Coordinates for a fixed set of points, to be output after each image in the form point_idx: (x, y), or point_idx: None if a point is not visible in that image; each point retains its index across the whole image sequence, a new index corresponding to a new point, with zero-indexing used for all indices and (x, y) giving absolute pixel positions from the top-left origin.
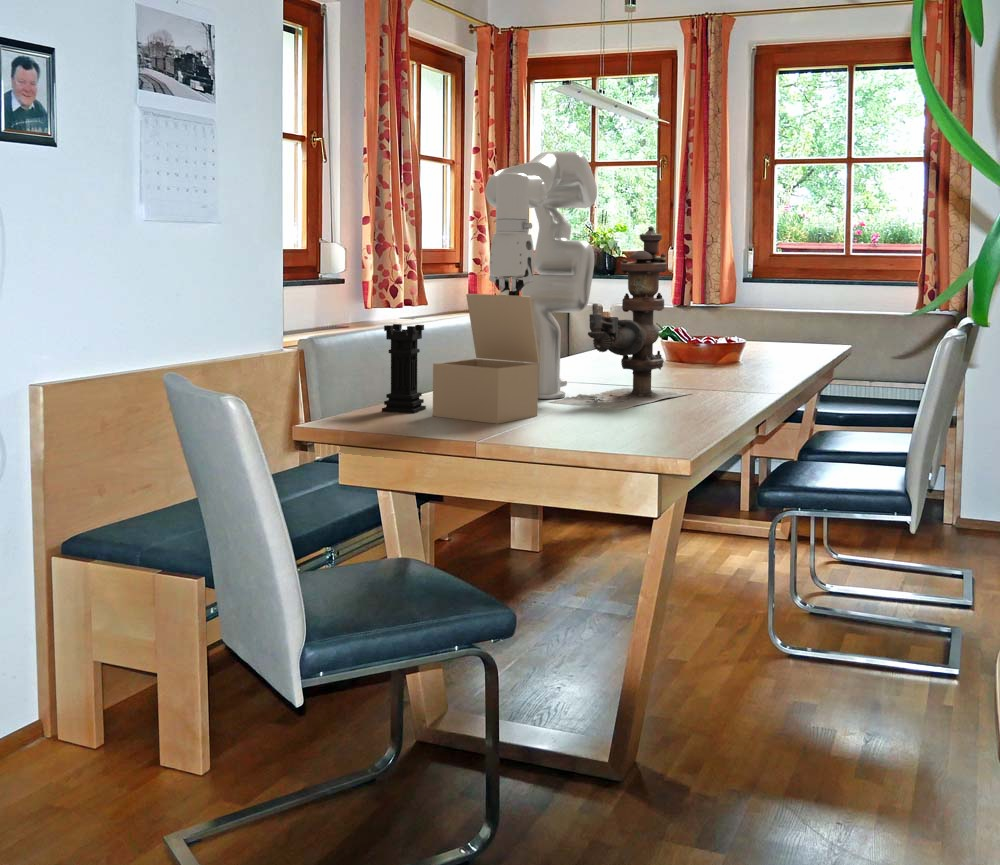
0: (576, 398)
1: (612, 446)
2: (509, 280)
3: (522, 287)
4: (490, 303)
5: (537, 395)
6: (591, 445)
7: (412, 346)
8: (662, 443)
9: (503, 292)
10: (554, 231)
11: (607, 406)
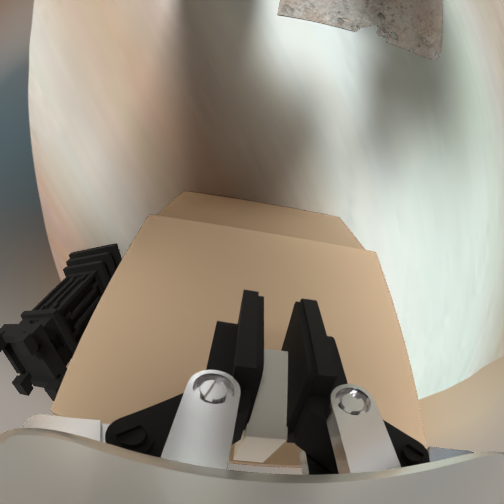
0: None
1: (454, 377)
2: (227, 465)
3: (386, 424)
4: None
5: (350, 231)
6: (437, 384)
7: (63, 349)
8: (496, 338)
9: (255, 451)
10: None
11: (406, 29)
